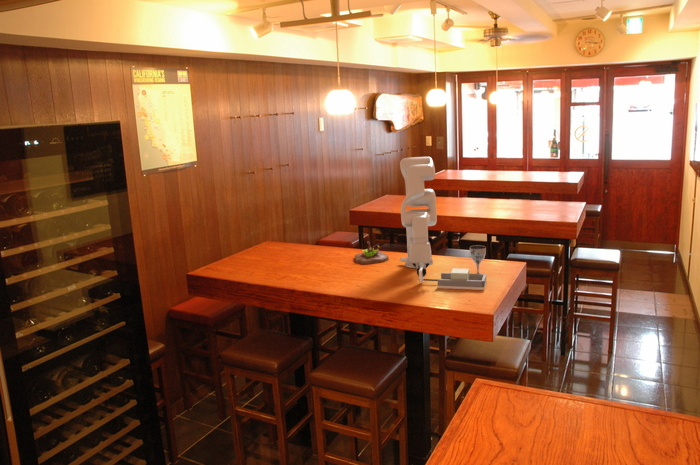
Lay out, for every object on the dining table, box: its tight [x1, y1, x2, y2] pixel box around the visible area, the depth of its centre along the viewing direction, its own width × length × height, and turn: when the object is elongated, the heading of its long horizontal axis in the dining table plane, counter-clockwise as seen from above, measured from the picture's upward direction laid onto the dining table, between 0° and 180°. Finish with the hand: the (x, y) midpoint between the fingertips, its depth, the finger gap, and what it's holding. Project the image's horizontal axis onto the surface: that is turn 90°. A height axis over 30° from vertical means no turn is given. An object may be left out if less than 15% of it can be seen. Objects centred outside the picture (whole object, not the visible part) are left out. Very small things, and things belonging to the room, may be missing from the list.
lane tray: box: [437, 272, 487, 291], centre depth 277 cm, size 22×12×4 cm, turn 72°
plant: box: [354, 240, 389, 265], centre depth 334 cm, size 20×20×11 cm
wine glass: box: [469, 244, 487, 274], centre depth 290 cm, size 8×8×15 cm
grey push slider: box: [418, 267, 470, 283], centre depth 280 cm, size 24×8×6 cm, turn 72°
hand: (421, 275), depth 283 cm, fingers closed on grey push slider
